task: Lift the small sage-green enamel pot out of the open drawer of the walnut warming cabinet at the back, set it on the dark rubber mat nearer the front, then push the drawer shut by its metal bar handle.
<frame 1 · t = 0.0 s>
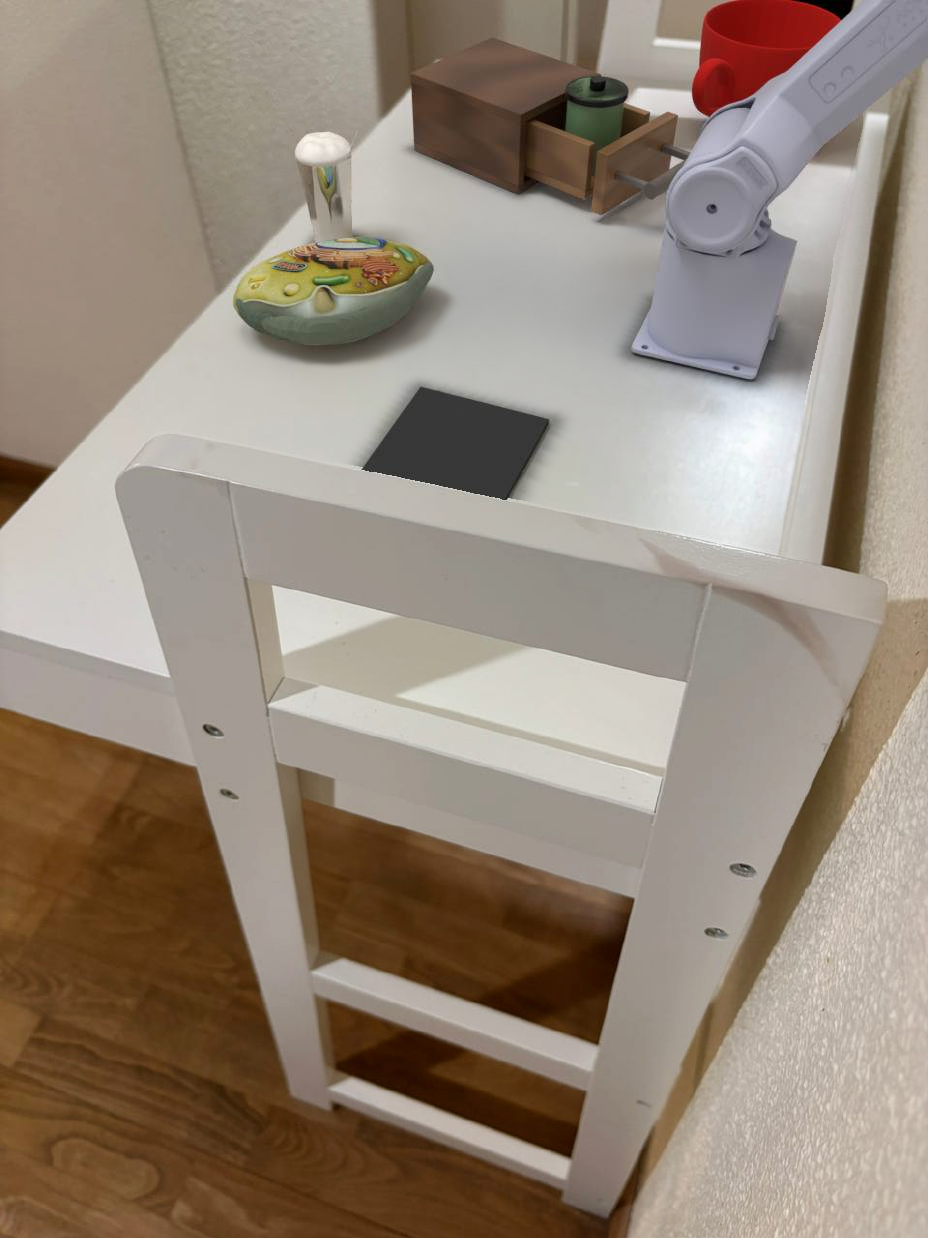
cabinet: (503, 150, 92), on the table
mat: (457, 449, 64), on the table
milkshake: (339, 246, 81), on the table
cell model: (337, 320, 74), on the table
ceramic cup: (736, 141, 93), on the table
drawer: (604, 151, 84), point 4 cm above the table, slide at 8.0 cm, touching pot
pot: (589, 163, 86), point 2 cm above the table, touching drawer
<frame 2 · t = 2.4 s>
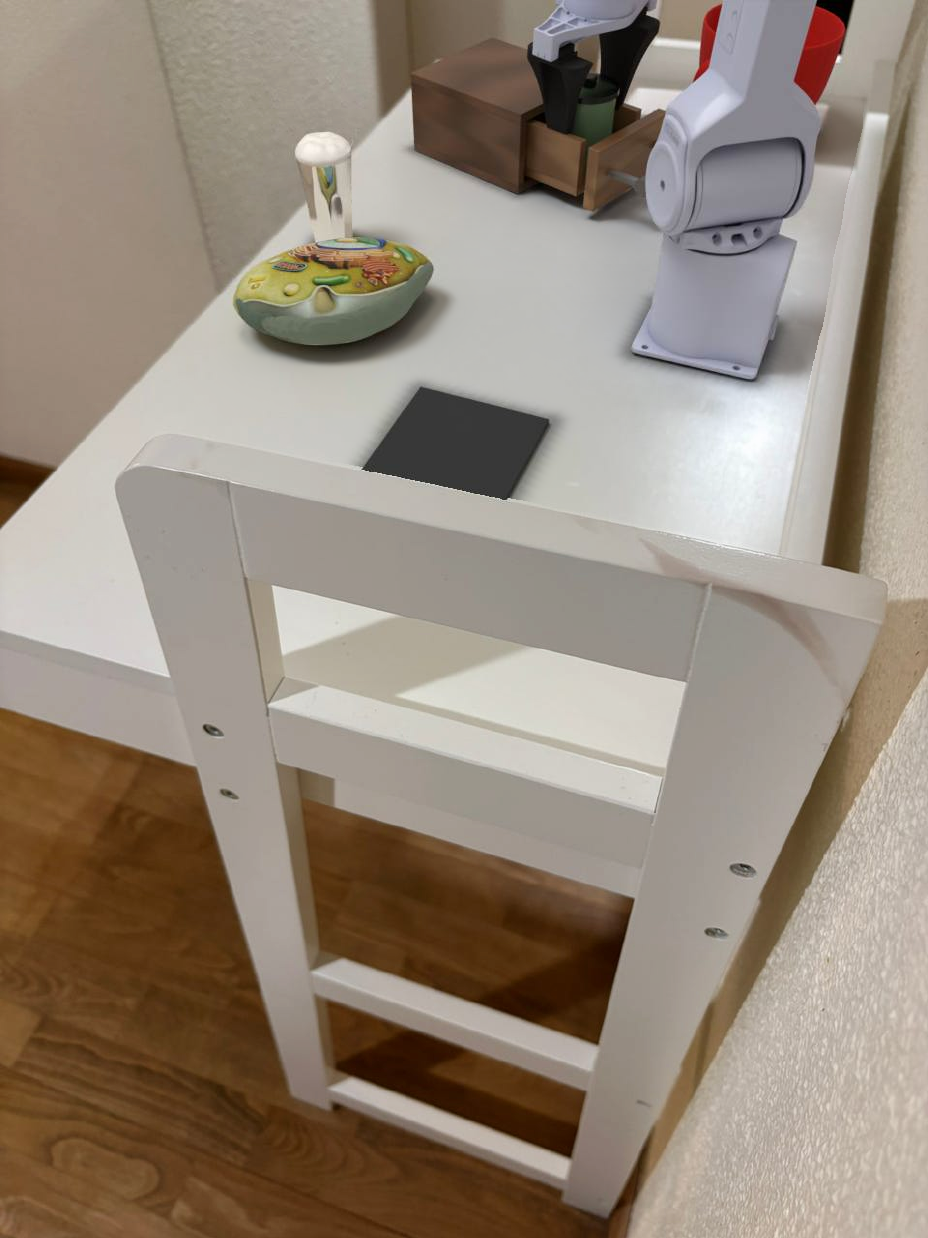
hand: (585, 119, 84), 6 cm above the table, tool pointing down
drawer: (595, 148, 84), point 4 cm above the table, slide at 7.0 cm, touching gripper, pot
everything else where it was.
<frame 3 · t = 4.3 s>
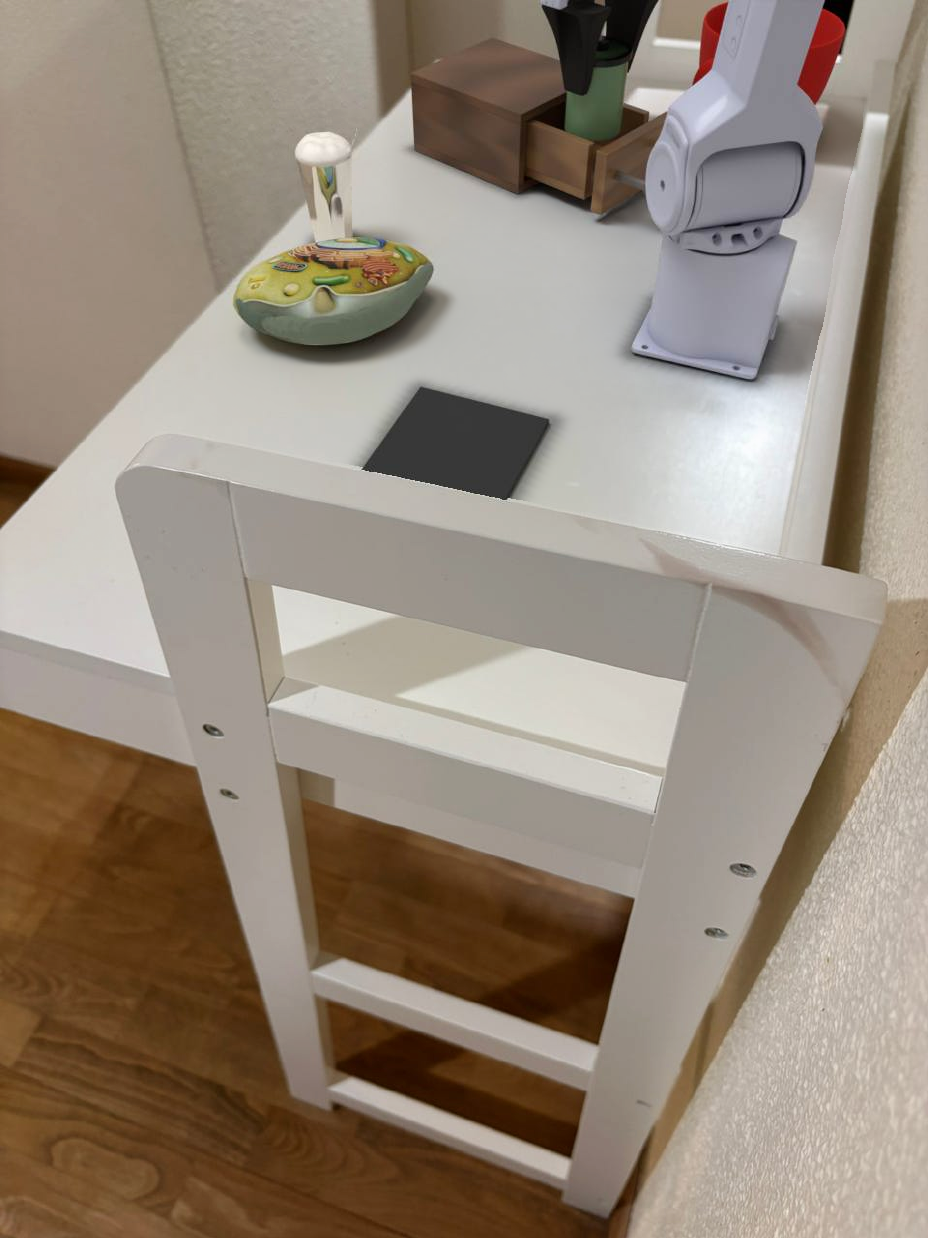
hand: (597, 80, 80), 9 cm above the table, tool pointing down, fingers closed on pot, 5 cm apart
drawer: (603, 150, 84), point 4 cm above the table, slide at 7.9 cm
pot: (592, 128, 83), point 5 cm above the table, touching gripper
everything else where it was.
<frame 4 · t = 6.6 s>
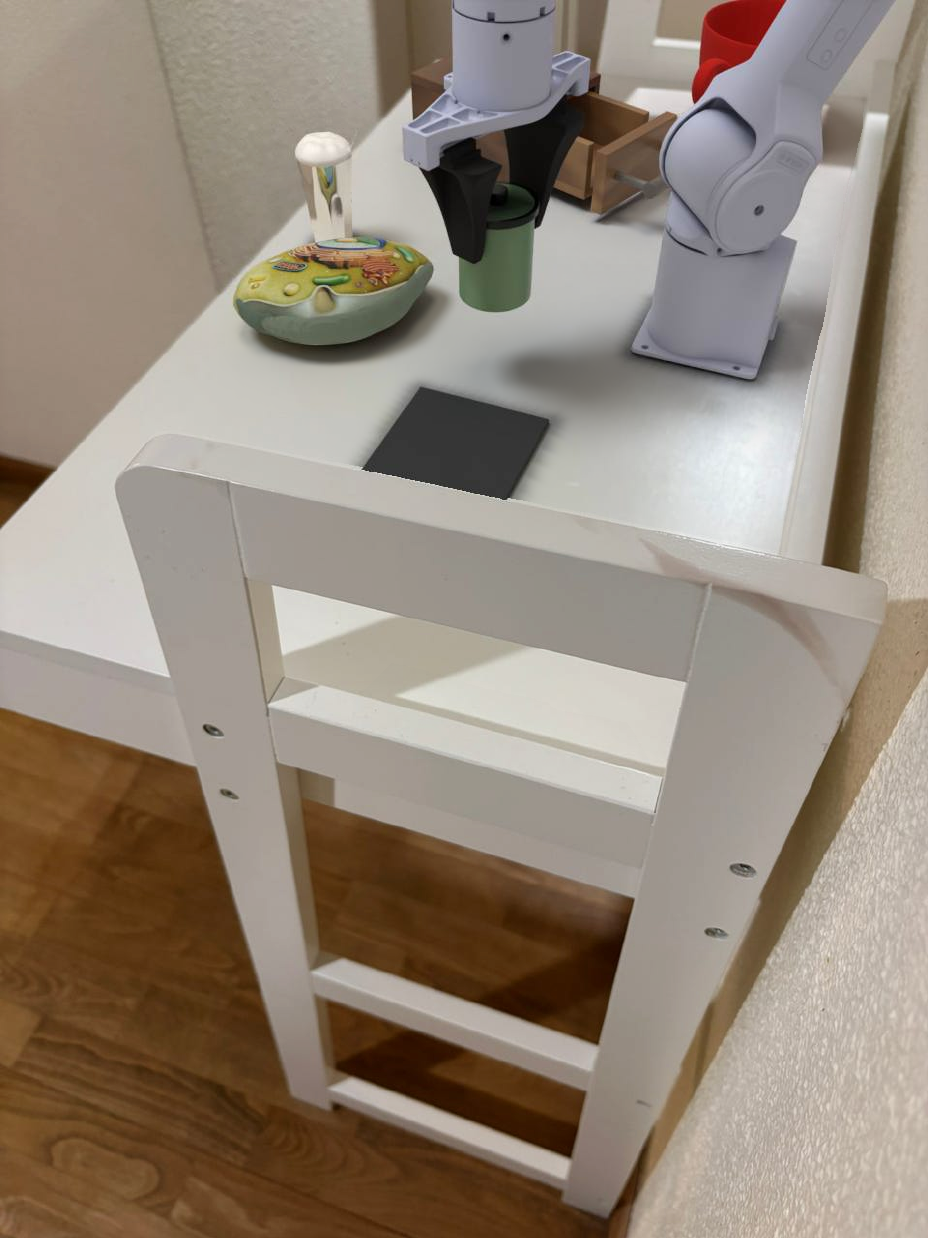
hand: (497, 239, 61), 10 cm above the table, tool pointing down, fingers closed on pot, 5 cm apart
pot: (495, 292, 64), point 6 cm above the table, touching gripper
everything else where it was.
when the fingers open (3 cm above the table, at t = 9.4 s): pot stays where it is, resting on mat.
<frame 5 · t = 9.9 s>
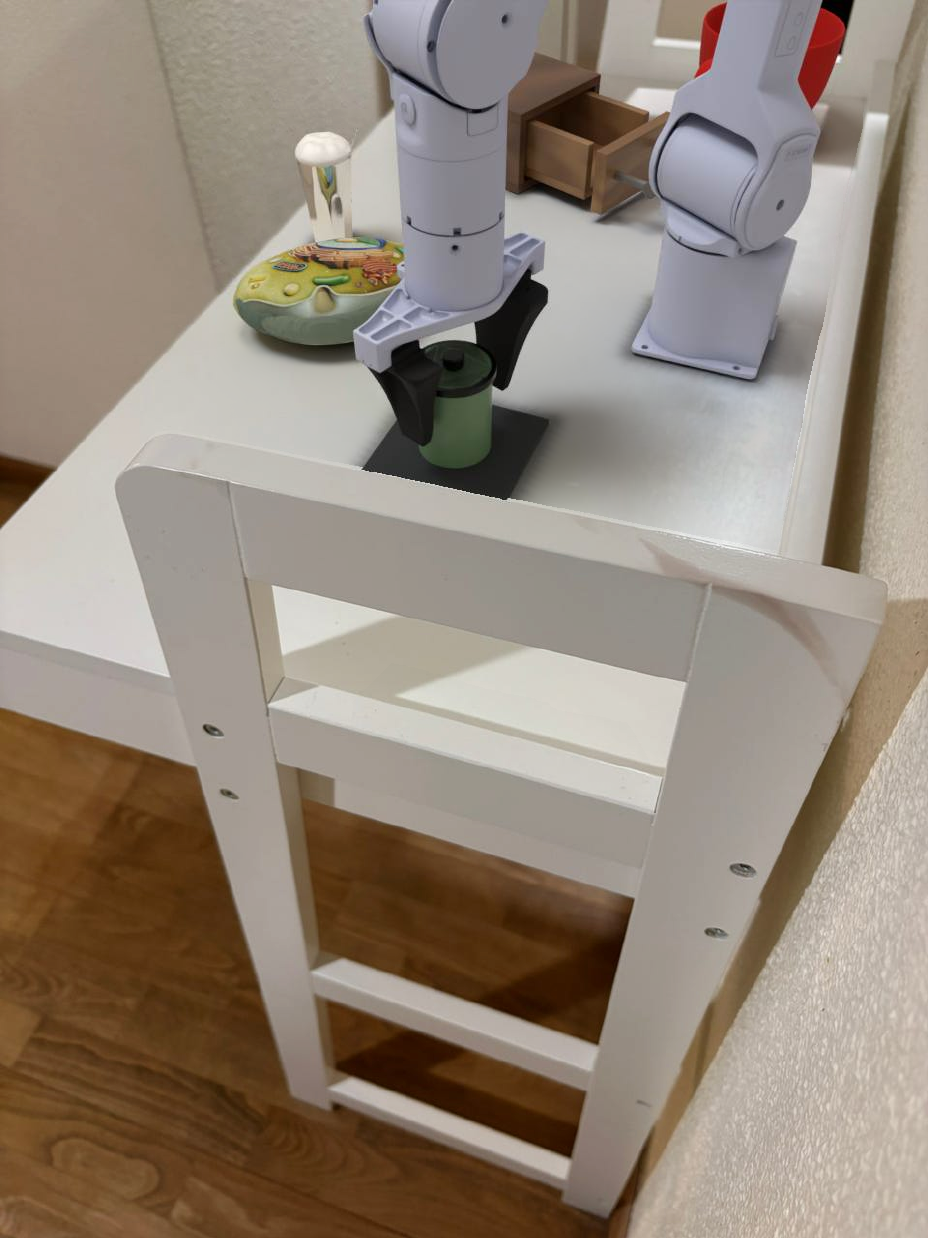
hand: (456, 409, 61), 3 cm above the table, tool pointing down, fingers open, 7 cm apart
pot: (454, 444, 64), resting on mat
everything else where it was.
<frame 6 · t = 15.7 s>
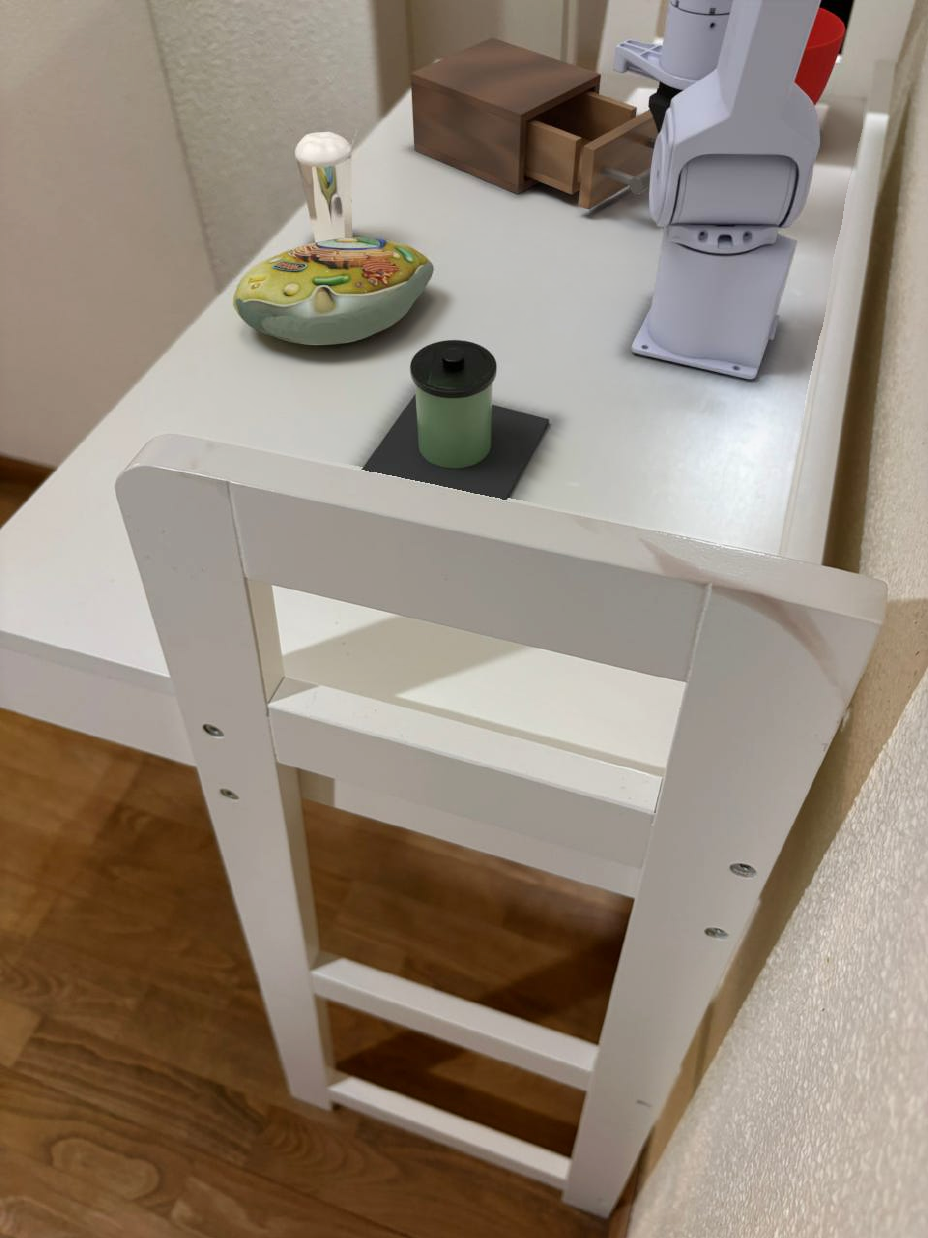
hand: (676, 180, 81), 3 cm above the table, tool pointing down, fingers closed
drawer: (591, 146, 85), point 4 cm above the table, slide at 6.5 cm, touching gripper
everything else where it was.
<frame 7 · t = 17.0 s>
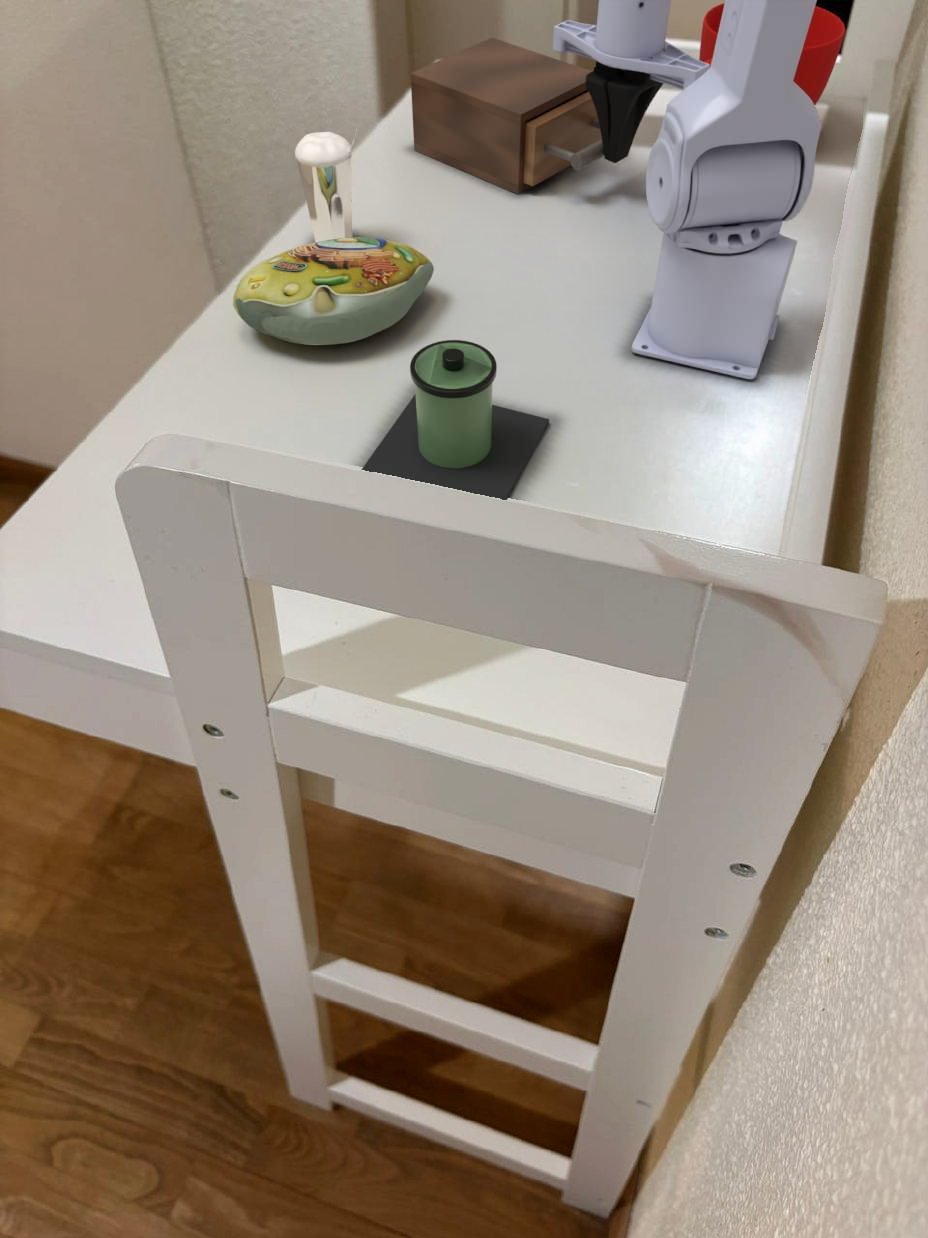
hand: (616, 157, 83), 3 cm above the table, tool pointing down, fingers closed, pressing on drawer
drawer: (536, 125, 87), point 4 cm above the table, slide at 0.0 cm, touching gripper
everything else where it was.
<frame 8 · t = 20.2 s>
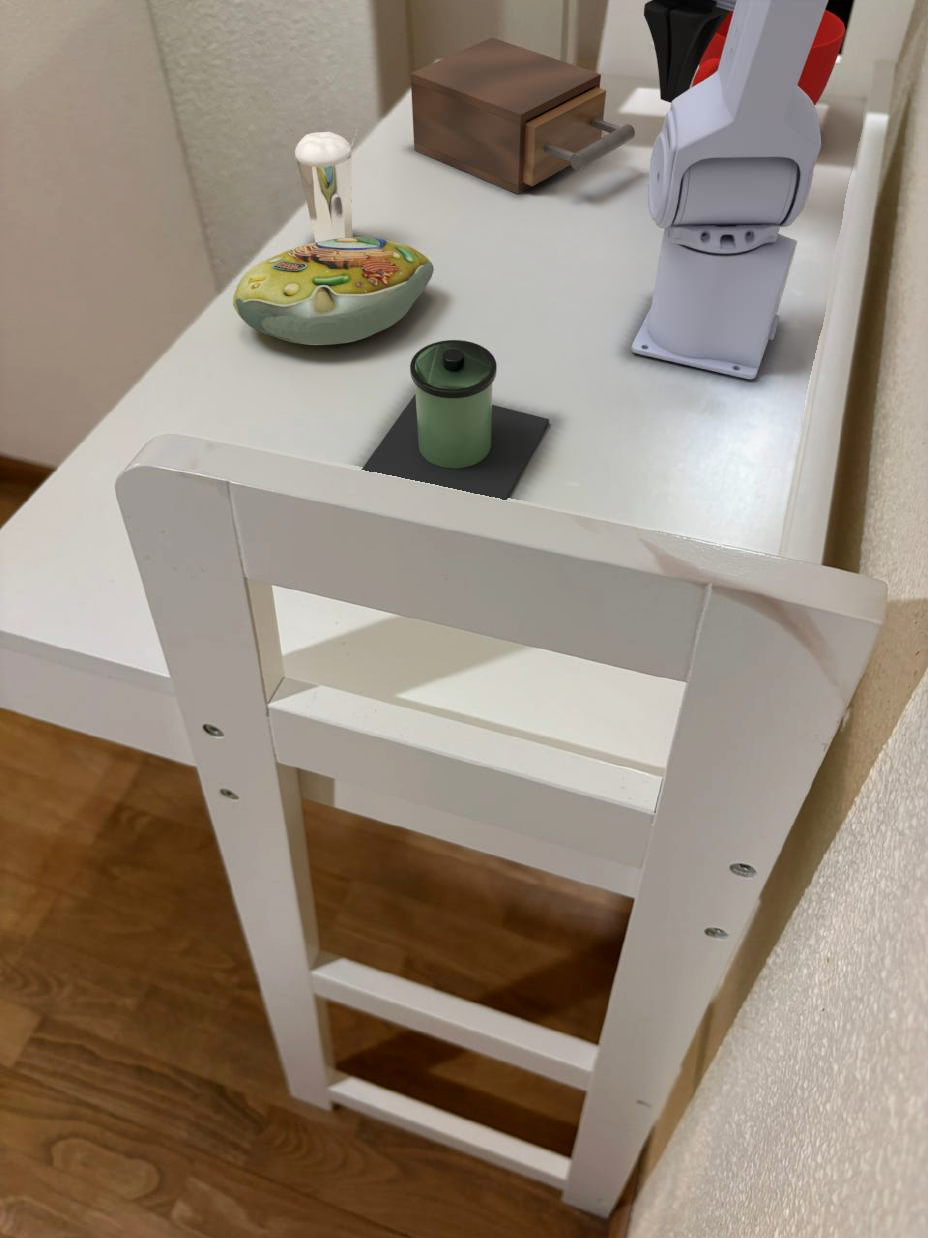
hand: (673, 97, 77), 9 cm above the table, tool pointing down, fingers closed
drawer: (536, 125, 87), point 4 cm above the table, slide at 0.0 cm, touching cabinet
everything else where it was.
at the end: pot inside the target area on the mat (0.1 cm from its centre), point 0.4 cm above the mat's base; pot tilted 0°; drawer slide at 0.0 cm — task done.
